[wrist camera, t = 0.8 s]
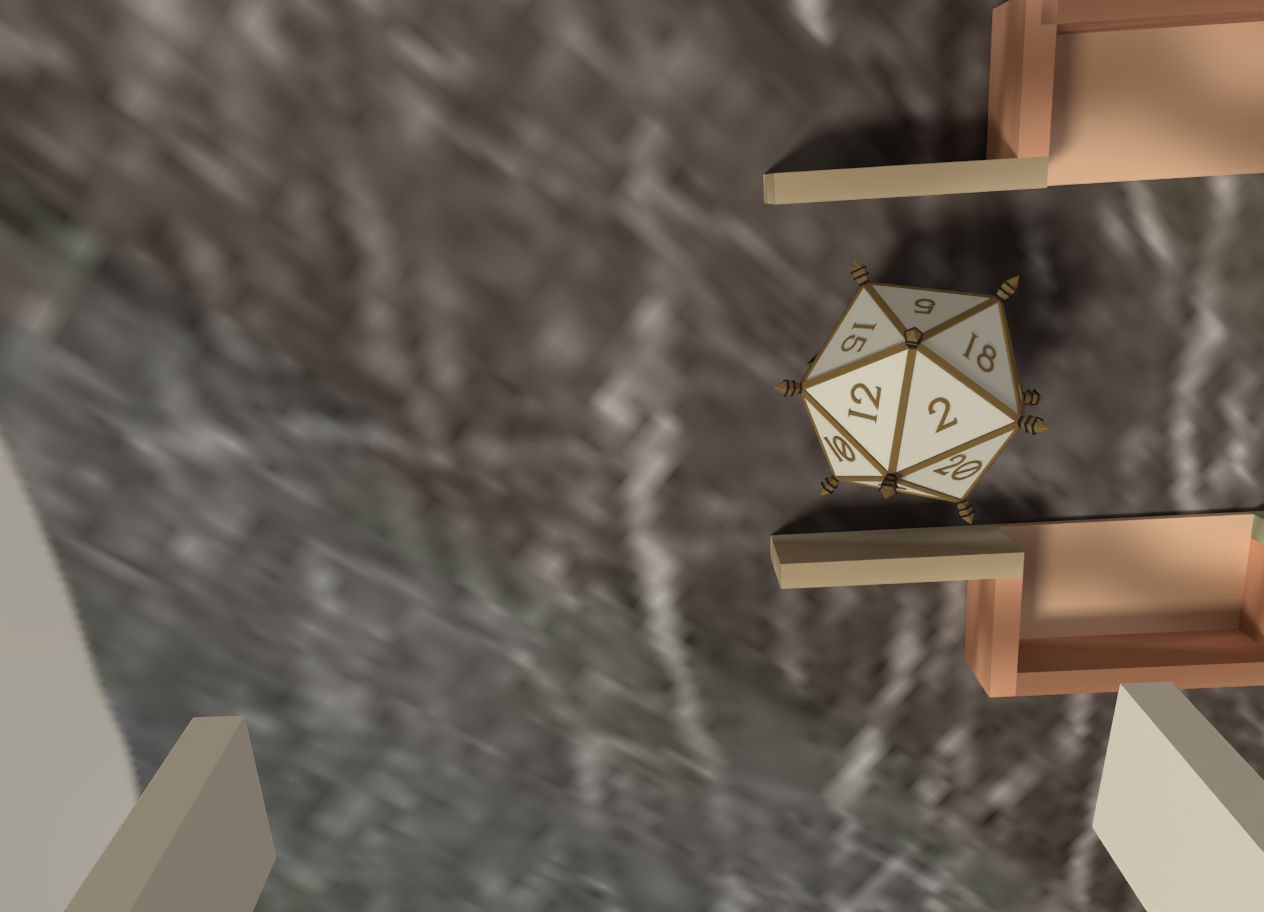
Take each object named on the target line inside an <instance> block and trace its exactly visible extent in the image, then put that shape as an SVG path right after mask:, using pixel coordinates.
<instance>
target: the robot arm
mask: <svg viewBox="0 0 1264 912" xmlns="http://www.w3.org/2000/svg"><path fill="white" fill-rule="evenodd" d="M1092 827H1093V829H1094V830H1095V832H1096V833H1097V835H1098V837H1099V838H1100V840H1101V841H1102V843H1103V844H1104V846H1105V847H1106V849H1107V851H1108V852H1109V854H1110V855H1111V857H1112V858H1113V860H1114V861H1115V863H1116V864H1117V866H1118V868H1119V869H1120V871H1121V872H1122V874H1123V875H1124V877H1125V878H1126V880H1127V881H1128V883H1129V885H1130V886H1131V888H1132V889H1133V891H1134V892H1135V894H1136V895H1137V897H1138V899H1139V900H1140V902H1141V903H1142V905H1143V906H1144V908H1145V909H1146V911H1147V912H1264V780H1263V779H1262V778H1261V777H1260V776H1259V775H1258V774H1257V773H1256V772H1255V771H1254V770H1253V769H1252V768H1251V766H1250V765H1249V764H1248V763H1247V762H1246V761H1245V760H1244V759H1243V758H1242V757H1241V756H1240V755H1239V754H1238V753H1237V752H1236V750H1235V749H1234V748H1233V747H1232V746H1231V745H1230V744H1229V743H1228V742H1227V741H1226V740H1225V739H1224V738H1223V737H1222V735H1221V734H1220V733H1219V732H1218V731H1217V730H1216V729H1215V728H1214V727H1213V726H1212V725H1211V724H1210V723H1209V722H1208V721H1207V719H1206V718H1205V717H1204V716H1203V715H1202V714H1201V713H1200V712H1199V711H1198V710H1197V709H1196V708H1195V707H1194V706H1193V704H1192V703H1191V702H1190V701H1189V700H1188V699H1187V698H1186V697H1185V696H1184V695H1183V694H1182V693H1181V692H1180V691H1179V690H1178V688H1177V687H1176V686H1175V685H1174V684H1173V683H1172V682H1146V683H1120V687H1119V692H1118V697H1117V702H1116V708H1115V713H1114V718H1113V723H1112V728H1111V733H1110V738H1109V743H1108V748H1107V753H1106V759H1105V764H1104V769H1103V774H1102V779H1101V784H1100V789H1099V794H1098V799H1097V804H1096V810H1095V815H1094V820H1093V825H1092ZM275 860H276V853H275V849H274V845H273V840H272V836H271V831H270V827H269V822H268V818H267V813H266V809H265V805H264V800H263V796H262V791H261V787H260V782H259V778H258V774H257V769H256V765H255V760H254V756H253V751H252V747H251V742H250V738H249V734H248V729H247V725H246V720H245V716H224V717H197V718H193V719H192V720H191V722H190V723H189V725H188V726H187V728H186V729H185V731H184V732H183V734H182V735H181V737H180V738H179V740H178V741H177V743H176V744H175V746H174V747H173V749H172V750H171V752H170V753H169V755H168V756H167V758H166V759H165V761H164V762H163V764H162V765H161V767H160V768H159V770H158V771H157V773H156V774H155V776H154V777H153V779H152V780H151V782H150V783H149V785H148V786H147V788H146V789H145V791H144V792H143V794H142V795H141V797H140V798H139V800H138V801H137V803H136V804H135V806H134V807H133V809H132V810H131V812H130V813H129V815H128V816H127V818H126V819H125V821H124V822H123V824H122V825H121V827H120V828H119V830H118V831H117V833H116V834H115V836H114V837H113V839H112V841H111V842H110V843H109V845H108V846H107V848H106V849H105V851H104V852H103V854H102V855H101V857H100V858H99V860H98V861H97V863H96V864H95V866H94V867H93V869H92V870H91V872H90V873H89V875H88V876H87V878H86V879H85V881H84V882H83V884H82V885H81V887H80V888H79V890H78V891H77V893H76V894H75V896H74V897H73V899H72V900H71V902H70V903H69V905H68V906H67V908H66V909H65V911H64V912H253V910H254V908H255V905H256V903H257V901H258V898H259V896H260V894H261V892H262V889H263V887H264V885H265V882H266V880H267V878H268V876H269V873H270V871H271V869H272V866H273V864H274V862H275Z"/></svg>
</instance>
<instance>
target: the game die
mask: <svg viewBox="0 0 1264 912" xmlns="http://www.w3.org/2000/svg"><path fill="white" fill-rule="evenodd" d="M865 268H866V266H863V265H862V264H861V263H859V262H858V261H856V260H855V259H854V261H853V267H852V272H851V273H850V274H853V276H854V280H856V281H857V282H858V283H859V286H860V287H859V289H858V290H857V292H856V293H855V295H854V297H853V298H852V300H851V301H850V303H849V305H848V306H847V308H846V310H845V311H844V313H843V314H842V316H841V318H840V319H839V321H838V322H837V324H836V326H835V327H834V329H833V331H832V332H831V334H830V335H829V337H828V339H827V340H826V342H825V343H824V345H823V347H822V348H821V350H820V351H819V353H818V355H817V356H816V358H815V360H813V361H811V362H809V363H808V364H806V365H807V367H808V371H807V372H806V374H805V376H804V377H803V379H802V381H801V382H800V383H797V382H795V380H793V381H788V380H784V381H783V382H782V383H780V384H778V385H777V386H775V388H776V389H777V390H779V391H780V392H781V393H783V394H784V396H786V395H791V396H793V395H794V394H797V393H799V394H800V395H801V398H802V400H803V403H804V405H805V408H806V410H807V412H808V415H809V417H810V420H811V422H812V425H813V427H814V430H815V432H816V434H817V437H818V439H819V442H820V444H821V447H822V449H823V452H824V454H825V456H826V459H827V461H828V464H829V466H830V469H831V471H832V473H833V474H832V476H831V477H829V478H825V481H824V482H821V493H820V496H821V495H825V494H829V493H830V494H832V492H833V491H834V490H833V489H836V488H837V483H838V482H839V481H842V482H847V483H853V484H858V485H863V486H869V487H874V488H879V490H878V491H880V492H881V493H882V494H883V496H884V497H885V499H887V498H888V497H890V496H892V495H895V494H897V492H902V493H907V494H913V495H918V496H924V497H929V498H934V499H940V500H945V501H951V502H956V503H957V506H958V508H957V512H959V514H960V515H959V518H962V519H964V520H965V521H967V522H968V523H970V524H972V519H973V514H974V512H975V510H973V509H972V507H971V506H972V504H969V503H968V502H967V501H966V498H967V496H968V495H969V494H970V492H971V491H972V490H973V489H974V487H975V486H976V485H977V483H978V482H979V481H980V479H981V478H982V477H983V476H984V474H985V473H986V472H987V470H988V469H989V468H990V467H991V465H992V464H993V463H994V461H995V460H996V459H997V458H998V456H999V455H1000V454H1001V452H1002V451H1003V450H1004V449H1005V447H1006V446H1007V445H1008V443H1009V442H1010V441H1011V440H1012V438H1013V437H1014V436H1015V434H1016V433H1017V432H1018V430H1019V429H1020V428H1021V427H1022V428H1023V429H1025V431H1026V432H1027V433H1028V432H1032V434H1033V435H1035V434H1037V433H1038V432H1041V431H1044V430H1047V429H1049V428H1048V427H1047V426H1046V424H1045V423H1044V422H1043V419H1041V418H1039V417H1036V418H1035V417H1033V416H1031V415H1029V416H1028V417H1025V415H1024V405H1027V404H1030V405H1038V403H1039V402H1040V401H1041V400H1043V399H1044V398H1043V397H1042V396H1041V395H1040V394H1039V393H1038V392H1037V391H1036V390H1035V389H1034V390H1033V391H1030V390H1027V391H1026V392H1023V390H1022V385H1021V381H1020V377H1019V372H1018V368H1017V363H1016V359H1015V354H1014V350H1013V345H1012V341H1011V336H1010V332H1009V327H1008V323H1007V318H1006V314H1005V310H1004V305H1003V302H1004V300H1005V299H1007V298H1008V297H1012V294H1013V293H1014V292H1015V291H1016V292H1017V291H1018V290H1017V285H1018V279H1019V276H1017V277H1014V278H1012V279H1009V280H1006V281H1005V280H1004V281H1003V282H1004V283H1003V284H1002V286H1001V287H1000V286H999V287H998V288H999V290H998V292H997V294H995V295H987V294H977V293H968V292H959V291H949V290H940V289H930V288H921V287H912V286H902V285H893V284H884V283H874V282H869V280H868V274H869V273H868V272H867V271H866V269H865Z"/></svg>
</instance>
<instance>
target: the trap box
mask: <svg viewBox="0 0 1264 912" xmlns="http://www.w3.org/2000/svg"><path fill="white" fill-rule="evenodd" d="M1249 173H1264V0H1009V1H1007V2H1005V3H1003V4H1002V5H1000V6H998V7H996V8H994V9H993V14H992V37H991V60H990V83H989V105H988V128H987V151H986V160H979V161H963V162H947V163H931V164H915V165H899V166H883V167H867V168H850V169H834V170H818V171H802V172H786V173H772V174H764V175H763V178H764V203H768V204H789V203H806V202H822V201H838V200H855V199H871V198H888V197H904V196H920V195H937V194H953V193H969V192H986V191H1002V190H1018V189H1035V188H1047V186H1053V185H1069V184H1086V183H1102V182H1118V181H1135V180H1151V179H1167V178H1184V177H1200V176H1216V175H1233V174H1249ZM770 536H771V560H772V563H773V566H774V569H775V572H776V575H777V578H778V581H779V584H780V587H781V589H788V588H809V587H830V586H851V585H872V584H893V583H914V582H935V581H955V580H968V585H967V608H966V631H965V654H964V660H965V661H966V663H967V664H968V666H969V667H970V669H971V670H972V672H973V673H974V675H975V676H976V678H977V679H978V681H979V682H980V684H981V685H982V687H983V688H984V690H985V691H986V693H987V694H988V696H989V697H1007V696H1030V695H1053V694H1076V693H1099V692H1119V687H1120V683H1146V682H1172V683H1173V684H1174V685H1175V686H1176V687H1177V688H1178V689H1190V688H1213V687H1236V686H1258V685H1264V511H1250V512H1230V513H1210V514H1190V515H1170V516H1150V517H1130V518H1109V519H1089V520H1069V521H1049V522H1029V523H1009V524H989V525H969V526H949V527H928V528H908V529H888V530H868V531H848V532H828V533H808V534H788V535H770Z"/></svg>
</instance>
